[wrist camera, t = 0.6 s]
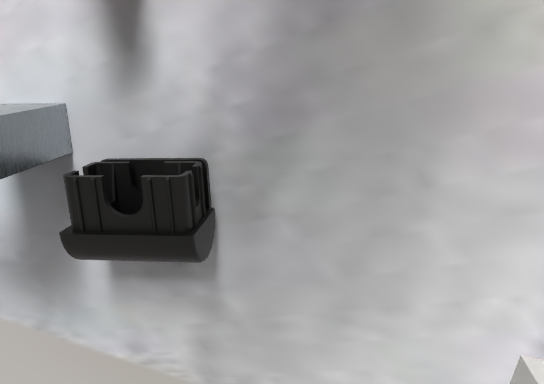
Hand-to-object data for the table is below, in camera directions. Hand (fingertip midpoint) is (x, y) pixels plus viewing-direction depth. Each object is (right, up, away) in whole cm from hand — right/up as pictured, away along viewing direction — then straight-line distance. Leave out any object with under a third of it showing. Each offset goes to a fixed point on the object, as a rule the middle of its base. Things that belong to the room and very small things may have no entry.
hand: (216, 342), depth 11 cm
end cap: (-8, +3, +28) cm, 30 cm away
